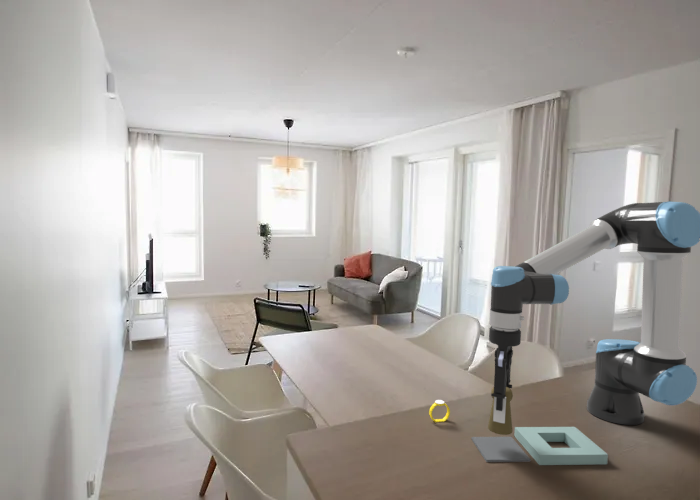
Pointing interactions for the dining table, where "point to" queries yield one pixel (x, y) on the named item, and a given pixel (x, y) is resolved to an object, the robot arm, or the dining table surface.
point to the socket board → (544, 454)
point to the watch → (439, 403)
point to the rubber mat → (500, 449)
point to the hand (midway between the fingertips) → (500, 416)
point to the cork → (507, 427)
